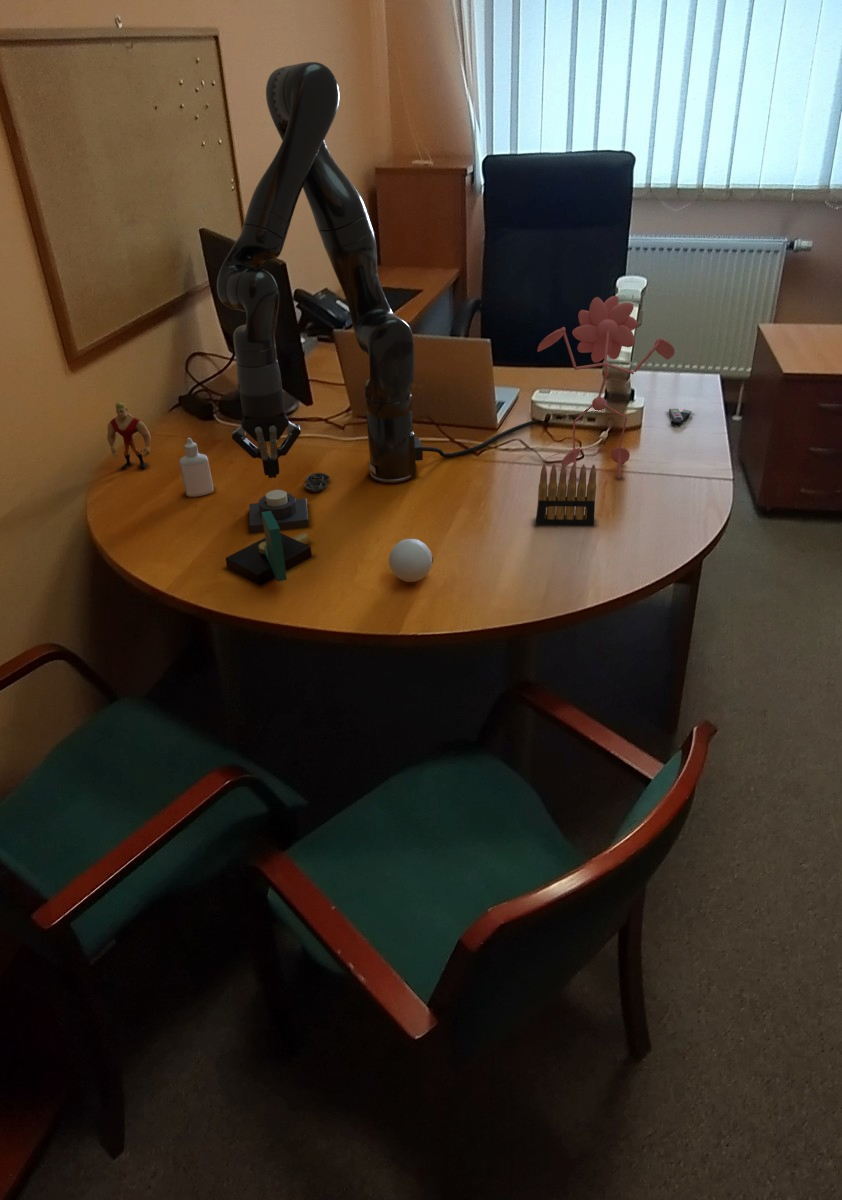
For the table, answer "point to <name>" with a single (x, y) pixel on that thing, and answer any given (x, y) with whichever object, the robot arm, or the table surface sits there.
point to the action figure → (128, 434)
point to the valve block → (257, 564)
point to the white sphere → (410, 560)
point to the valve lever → (273, 546)
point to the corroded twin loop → (316, 482)
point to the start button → (276, 498)
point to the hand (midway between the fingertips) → (272, 476)
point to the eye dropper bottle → (195, 471)
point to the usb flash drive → (678, 416)
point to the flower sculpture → (604, 353)
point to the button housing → (280, 514)
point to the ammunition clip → (566, 498)
